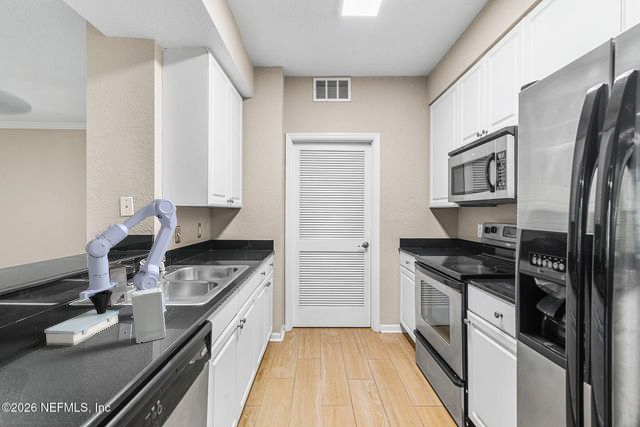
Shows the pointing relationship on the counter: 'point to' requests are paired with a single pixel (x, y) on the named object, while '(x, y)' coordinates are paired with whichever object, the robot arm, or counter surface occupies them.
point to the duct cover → (80, 322)
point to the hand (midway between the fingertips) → (101, 313)
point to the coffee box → (118, 275)
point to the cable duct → (80, 333)
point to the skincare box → (148, 315)
